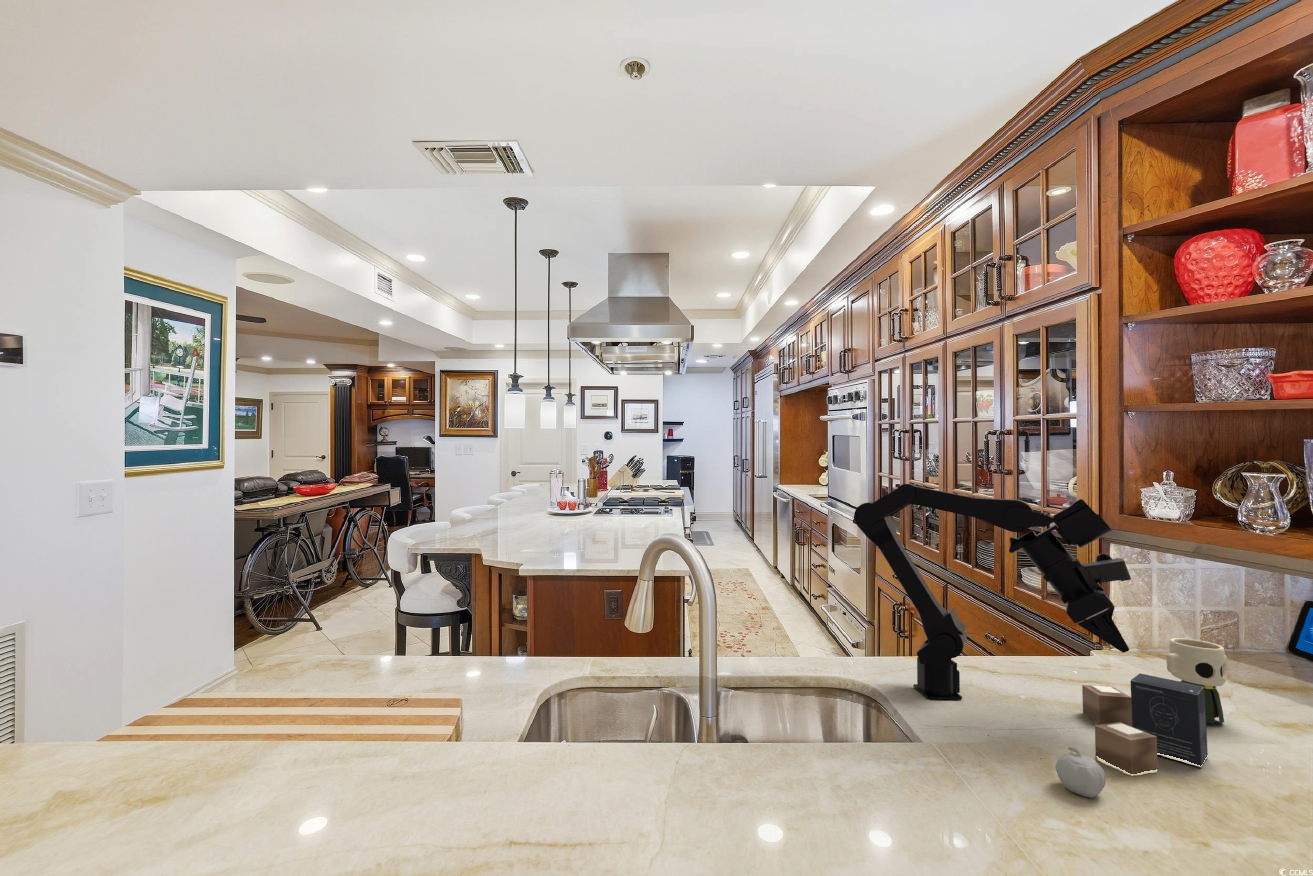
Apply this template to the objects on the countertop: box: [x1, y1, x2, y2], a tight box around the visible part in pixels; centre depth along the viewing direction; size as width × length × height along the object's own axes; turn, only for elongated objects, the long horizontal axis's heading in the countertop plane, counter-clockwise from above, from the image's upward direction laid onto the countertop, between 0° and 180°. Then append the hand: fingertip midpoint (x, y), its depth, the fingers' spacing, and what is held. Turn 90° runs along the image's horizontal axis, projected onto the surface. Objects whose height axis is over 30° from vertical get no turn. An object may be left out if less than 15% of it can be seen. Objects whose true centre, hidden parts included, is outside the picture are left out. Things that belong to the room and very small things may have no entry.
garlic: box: [1055, 745, 1107, 798], centre depth 77 cm, size 6×5×5 cm
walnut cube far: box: [1081, 684, 1132, 727], centre depth 100 cm, size 5×5×5 cm
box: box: [1130, 673, 1209, 766], centre depth 88 cm, size 8×6×11 cm
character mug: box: [1166, 637, 1228, 724], centre depth 101 cm, size 11×7×13 cm, turn 94°
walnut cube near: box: [1094, 722, 1159, 774], centre depth 84 cm, size 5×5×5 cm
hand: (1122, 644), depth 96 cm, fingers open, 9 cm apart
